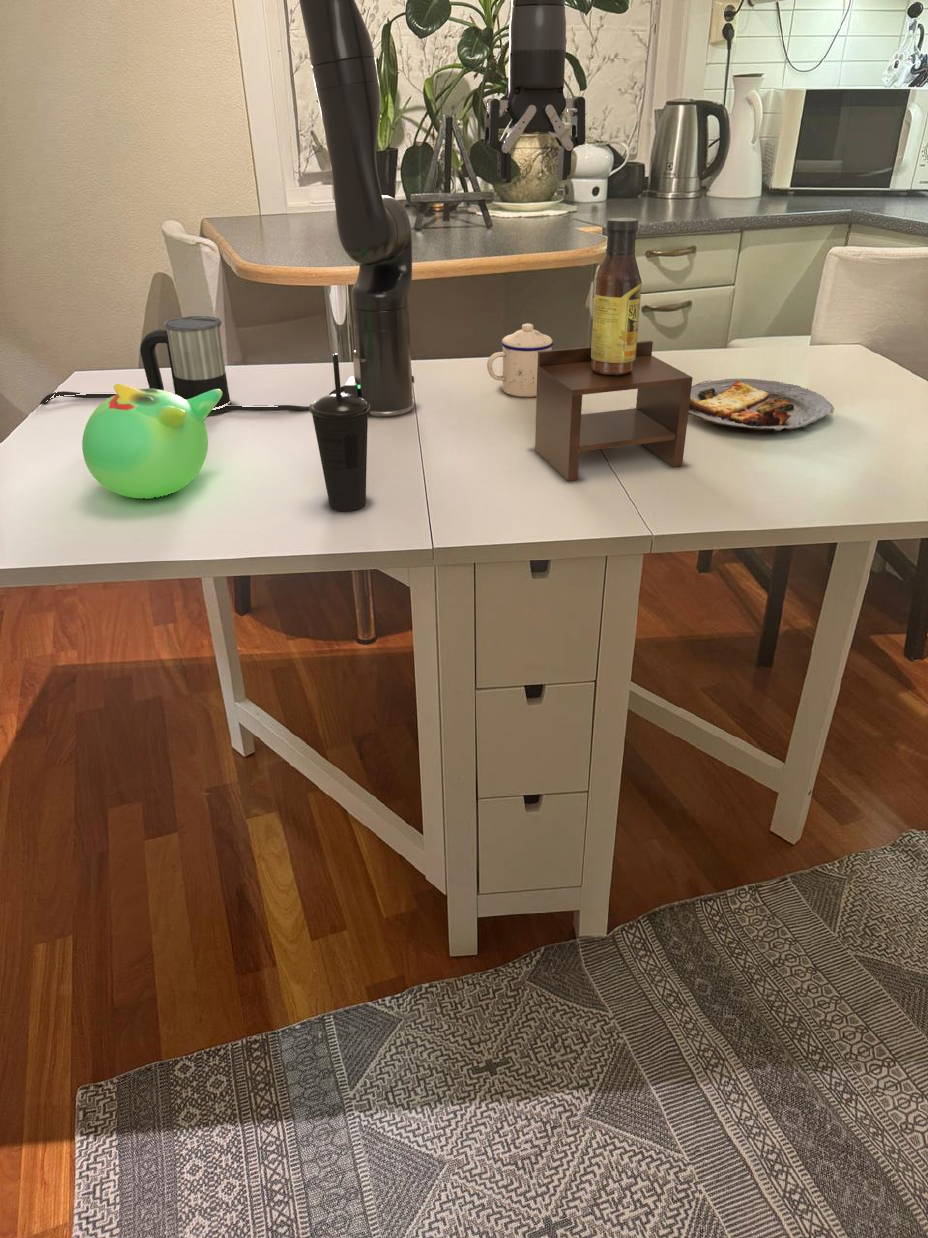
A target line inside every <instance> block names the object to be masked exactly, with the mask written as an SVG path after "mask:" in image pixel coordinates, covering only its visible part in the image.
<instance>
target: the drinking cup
mask: <svg viewBox="0 0 928 1238" xmlns="http://www.w3.org/2000/svg"><path fill="white" fill-rule="evenodd" d="M339 361H340V360H339V354H338V353H333V354H332V365H333V377H334V388H335V389H334V390H336V394H331V395H329V394H327V395H325V396H323V397H320V398H319V399H317V400H314V401H313V402H311V403H310V404H309V406H308V407H309V413H310V414H311V415H312V420H313V427H314V431H315V437H316V442H317V447H318V452H319V457H320V464H321V467H322V472H323V477H324V484H325V489H326V493H327V500H328V504H329V507H330V509H332V510H333V511H337V512H347V513H348V512H355V511H358V510H360V509H362V508H364V507H365V506H366V503H367V468H368V465H367V464H368V463H367V461H368V426H369V425H368V421H369V420H368V419H369V416H368V410H369V409H370V403H369V402H368V401H367V400H366V399H363V398H360V397H357V396H354V395H351V394H345V392H341V387H342V385H341V373H340V363H339Z"/></svg>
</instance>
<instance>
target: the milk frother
mask: <svg viewBox="0 0 928 1238" xmlns="http://www.w3.org/2000/svg"><path fill="white" fill-rule="evenodd" d="M222 323H223V322H222V320H221V319H220V318H219V317H215V316H208V315H206V316H205V315H204V316H202V315H191V316H182V317H175V318H171V319H168V320H166V321H165V322H163V326H164V327H165V328H161V329H160V328H159V329H155V330H152V331H149V332H148V333H147V334H146V335H145V336H144V338H143V339H142V340H141V343H140V348H139V350H140V357H141V360H142V365H143V369H144V372H145V378H146V380H147V384H148V388H153V389H158V390H163V391H165V386H164V382H163V378H162V374H161V368H160V365H159V359H158V356H157V350H156V346H157V345H158V344H166V347H167V354H168V359H169V360H168V361H169V365H170V366H169V367H170V371H171V378H172V384H173V390H174V394H175V395H178V396H180V397H182V398H183V399H185V400H187V399H191V398H193V397H196V396H198V395H200V394H203V393H205V392H208V391H211V390H214V389H220V390H221V391H222V397H221V398H220V400H219V401H218V403H217V404H216V405H215V407H219V406H222V405H224V404H226V403H228V402H229V401H231V396H230V391H229V386H228V385H229V384H228V379H227V371H226V364H225V363H226V362H225V356H224V348H223V343H222V342H223V341H222V340H223V339H222V333H221V326H222ZM228 405H233V403H232V401H231V402H230V404H228ZM215 407H214V408H215ZM228 411H229V410H228V409H227V408H226V406H225V407H223V408H220V409H216V410H211V412H210V413H209V414H208V415H207V417H209V416H215V415H219V414H223V413H226V412H228Z"/></svg>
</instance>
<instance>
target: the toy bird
mask: <svg viewBox="0 0 928 1238" xmlns="http://www.w3.org/2000/svg"><path fill="white" fill-rule="evenodd" d="M113 390H114V391H115V393H117V394H116V395H114V396H112V397H110V398H106V399H105V400H104V401H103V402H101V403H100V404H99V405H98V406H97V407H96V408H95V409H94V411H93V412H92V413H91V415H90V416H89V418H88V420H87V422H86V424H85V427H84V430H83V436H82V441H81V442H82V444H81V447H82V448H81V449H82V450H81V451H82V455H83V456H82V457H83V459H84V463H85V465H86V467H87V469H88V471H89V473H90V474H91V475H92V477H93V478H94V480H96V481H97V482H98V483H99V484H100V485H101V486H102V487H104V488H106V489H107V490H109V491H111V492H113V493H115V494H118V495H120V496H123V497H127V498H133V499H143V498H145V499H155V498H154V497H156V498H161V497H162V498H163V497H165V496H168V494H169V495H171V493H172V494H174V493H177V492H178V491H180V490H182V489H183V488H185V487H186V486H188V485H189V484H190V483H191V482H192V481H193V480H194V479H196V477H197V475H198V474H199V473H200V471H201V469H202V467H203V465H204V463H205V461H206V459H207V458H206V457H207V453H208V447H209V435H208V430H207V426H206V424H205V419H206V418H207V417H208V416H207V415H208V414H209V413H210V412H211V410H212V409H213V408H214V407H215V405H216V404H217V403H218V401H219V400H220V398H221V397H222V391H221V390H220V389H214V390H211V391H208V392H205V393H203V394H200V395H198V396H196V397H193V398H191V399H187V400H185V399H183V398H182V397H180V396H178V395H175V393H172V392H170V391H167V390H164V391H163V390H158V389H153V388H149V387H148V388H135V387H132V386H129V385H126V384H123V383H116V384H114V385H113ZM164 495H165V496H164ZM160 496H161V497H160Z"/></svg>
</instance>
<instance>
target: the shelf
mask: <svg viewBox="0 0 928 1238" xmlns="http://www.w3.org/2000/svg"><path fill="white" fill-rule="evenodd" d="M653 345H654V341H653V340H643V341H637V346H636V359H635V362H634V368H633V370H632V371H631V372H630V373H626V374H621V375H603V374H599V373H596V372H594V371H593V370H592V368H591V363H592V358H591V348H592V345H590V346H588V345H587V346H578V347H569V348H558V349H557V348H556V349H552V350H546V351H538V365H537V370H538V371H537V396H535V397H536V400H535V437H534V451H535V452H536V453H537V454H538V455H539V456H540V457H541V458H543V459H544V461H546V462H547V463H548V464H549V465H550V466H551V467H552V468H553V469H554V470H555V471H556V472H557V473H558V474H560V475H561V476H562V477H563V478H564V479H565V481H567V482H572V481H578V479H579V464H580V463H579V461H580V452H587V451H594V450H602V449H604V450H605V449H611V448H619V447H620V448H621V447H627V446H635V445H642V446H644V447H645V448H646V449H647V450H649V451H651V452H652V453H653V454H654V455H656V456H657V457H659V458H660V459H662V460H663V462H666V463H667V464H668V465H669V466H671V467H672V468H676V467H682V466H683V462H684V454H685V446H686V439H687V438H686V437H687V430H688V429H687V428H688V422H689V421H688V419H689V414H688V413H689V404H690V396H691V387H692V386H693V380H694V379H693V378H694V377H693V376H691V375H689V374H687V373H686V372H683V371H682V370H680V369H678V368H676V367H674V366H672V365H671V364H669V363H667V362H665V361H663V360H661V359H659V358H658V357H655V356H654V355H653ZM631 390H637V391H636V403H635V408H626V409H616V410H609V411H599V412H591V413H583V414H582V408H583V403H582V402H583V396H584V395H595V394H602V393H610V392H611V393H612V392H621V391H631Z"/></svg>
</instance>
